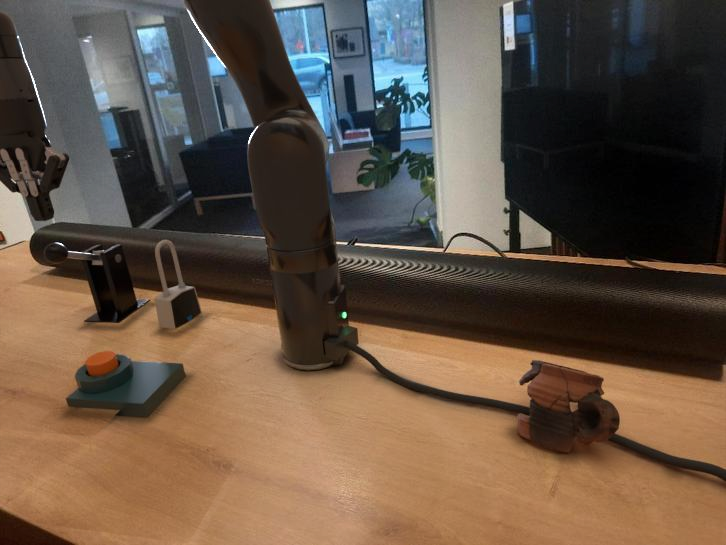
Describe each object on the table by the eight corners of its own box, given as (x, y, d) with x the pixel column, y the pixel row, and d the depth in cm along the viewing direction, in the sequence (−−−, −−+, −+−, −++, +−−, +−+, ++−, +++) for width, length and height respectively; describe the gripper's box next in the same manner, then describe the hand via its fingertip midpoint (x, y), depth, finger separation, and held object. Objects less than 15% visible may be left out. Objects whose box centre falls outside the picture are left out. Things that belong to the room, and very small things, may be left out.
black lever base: (120, 328, 84) (100, 257, 80) (85, 326, 86) (63, 257, 81) (151, 305, 93) (135, 240, 88) (119, 304, 94) (101, 240, 89)
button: (124, 362, 66) (121, 351, 65) (106, 377, 63) (102, 366, 62) (101, 361, 67) (97, 350, 66) (82, 376, 64) (78, 364, 63)
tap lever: (55, 262, 73) (56, 241, 74) (37, 262, 74) (38, 241, 74) (116, 268, 86) (117, 250, 86) (101, 268, 87) (101, 250, 87)
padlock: (187, 314, 88) (168, 233, 82) (205, 317, 86) (187, 234, 80) (158, 331, 82) (136, 246, 77) (177, 335, 80) (156, 248, 75)
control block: (186, 376, 68) (179, 351, 67) (147, 418, 60) (139, 391, 59) (112, 372, 71) (104, 348, 69) (65, 412, 63) (55, 385, 61)
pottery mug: (491, 425, 55) (506, 352, 56) (551, 433, 59) (565, 365, 60) (581, 468, 44) (599, 377, 45) (646, 474, 48) (662, 391, 49)
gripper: (-60, 101, 65) (-14, 227, 71) (23, 94, 62) (63, 226, 69) (-10, 98, 72) (28, 213, 78) (67, 92, 69) (100, 212, 75)
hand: (45, 219), depth 73 cm, fingers closed
